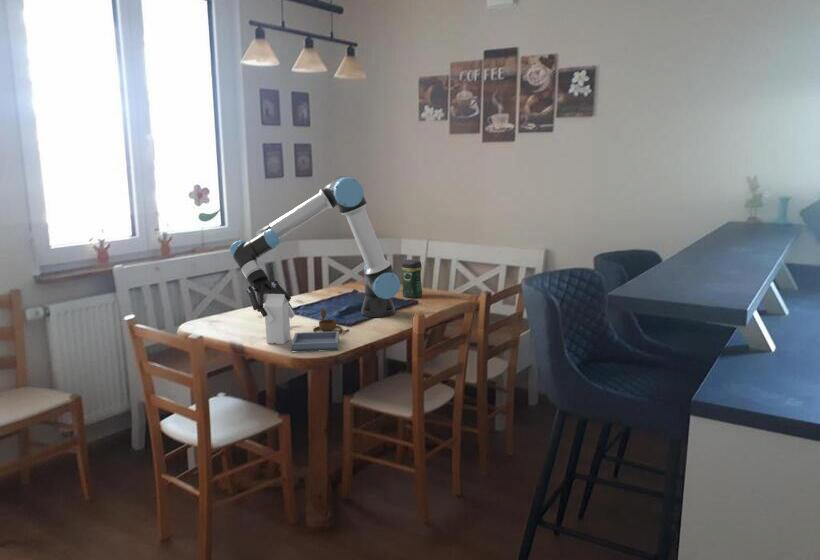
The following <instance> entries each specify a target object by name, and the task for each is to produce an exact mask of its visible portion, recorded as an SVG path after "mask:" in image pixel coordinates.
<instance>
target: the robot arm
mask: <svg viewBox="0 0 820 560" xmlns="http://www.w3.org/2000/svg"><path fill="white" fill-rule="evenodd" d="M364 194H365V193H364V187H363V186H362V184H361V182H360V181H359V180H358V179H356V178H354V177H352V176H346V175H339V176H337V177H335V178H334V179H332V180H331V181H330V182H329V183H327V184H326V185H325V186H323V187H321V188H320V189H319V191H318V193H316V194H315V195H313V196H312V197H310V198H308V199H307V200H305V201H304V202H302V203H300V204H299V205H297V206H295V207H294V208H292V209H291V210H290V211H287V212H286V213H285V214H283V215H281V216H280V217H278V218H277V219H275V220H273V221H271V222H270V223H269V224H266V226H264V227H262V228H259V229H258V230H256V231H255V232H254V234H253V238H252V239H251V240H248V241H246V240H244V239H239V240H236V241H235V242H233V243H232V244H231V245H230V247H229V252H230V254H231V256H232V258H233V259H234V261H235V263H236V264H237V266H238V268H239V269H240V271H241V272H242V274H243V276H244V277H245V279H246V281H247V282H248V284H249V286H248V287H247V288H246V292H247V294H248V295H249V296H248V297H249V300H250V302H251V306H252V309H253V311H256V312H257V313H261V315H262V316H263V317H264V318H266V319H267V321H268V323H269V324H271V323H272V322H273V321H274V319H273V318H272V316H271V314H270V313H269V311H268V309H267V308H266V306H265V305H264V295H267V294H285V298H286V299H287V301H288V303H289V319H290V320H292V319H293V318H294V316H295V315H296V314H295V312H294V311H293V307H292V305H291V303H290V301H291V299H292V297H291V296H290V295H289V293H288V292H286V290H285V289H283V287H282V286H281V285H280V284H279V282H278V281H277V280H275V281H273V282H271V281H270V280H269V278H268V277H269V276H268V275H267V273H266V271H265V270H264V269H263V267H262V265H261V263H260V262H259V260H258V258H260V257H262V256H263V255H265V254H267V253H268V252H270V251H271V250H274V249H275V248H276V247H278V246H279V245H281V244H282V242H281V238H283V237H285V236H286V235H288V234H289V233H290V232H293V231H294V230H296V229H297V228H299V227H300V226H302V225H304V224H306V223H307V222H308V221H310V220H312V219H313V218H315V217H317V216H318V215H320V214H322V213H323V212H324V211H326V210H328V209H334V208H335V207H337V208H338V211H339V212H340V215H343V216H345V218H346V220H347V222H348V224H349V227H350V230H351V233H352V234H353V237H354V239H355V242H356V244H357V247H358V250H359V252H360V254H361V256H362V259H363V262H364V266H363V275H364V276H363V277H364V279H363V280H364V282H363V283H364V299H363V302H362V305H361V315H362V314H363V316H364V315H365V317H369V318H370V317H371V318H384V317H390V316H392V315H394V314H395V313H396V308H395V304H394V302H393V297H395V296H396V295H397V294H398V293H399V291H400V289H401V281H400V279H399V277H398V275H397V274H396V273H395V271H394V267H393V265H392V263H391V262H390V261H388V260H386V258H385V255H384V252H383V250H382V247H381V245H380V243H379V240H378V237H377V235H376V232H375V230H374V228H373V225H372V222H371V220H370V218H369V215H368V212H367V211H366V208H367V207H366V206H367V204H368V203H367V200H366V198H365V196H364ZM264 306H265V307H264Z"/></svg>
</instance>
